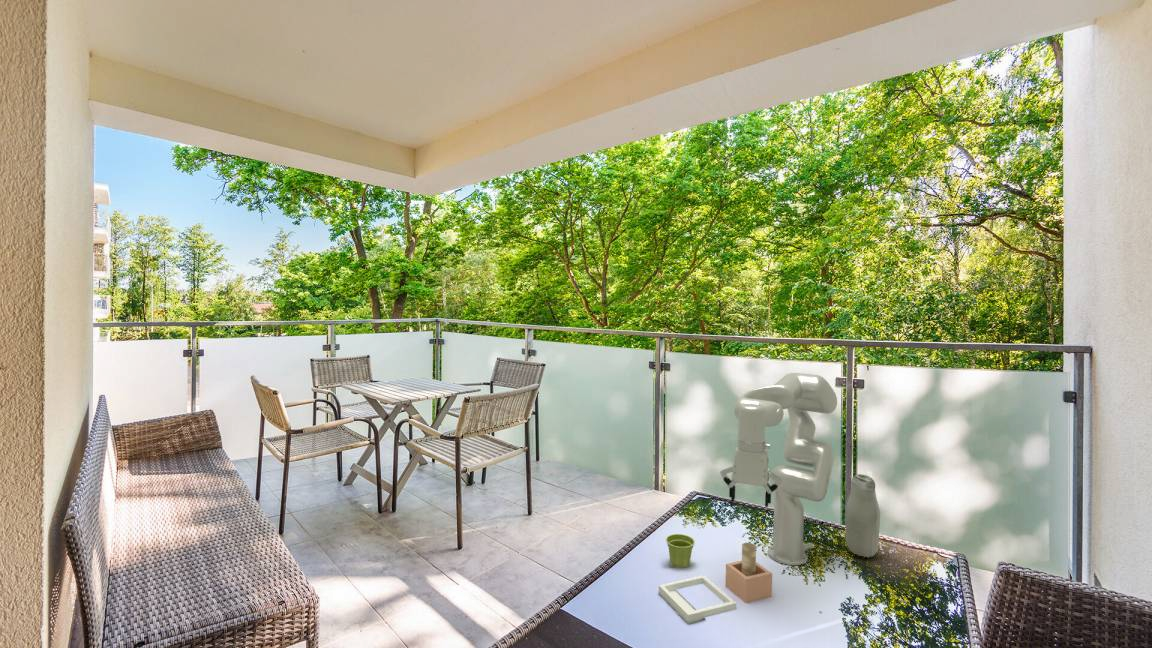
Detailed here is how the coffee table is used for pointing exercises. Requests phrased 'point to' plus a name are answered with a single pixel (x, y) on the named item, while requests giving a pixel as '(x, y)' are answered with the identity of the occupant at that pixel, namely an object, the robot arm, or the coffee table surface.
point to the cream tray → (685, 607)
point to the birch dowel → (748, 559)
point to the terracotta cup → (748, 582)
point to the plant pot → (680, 549)
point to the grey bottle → (862, 517)
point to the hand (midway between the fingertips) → (749, 502)
